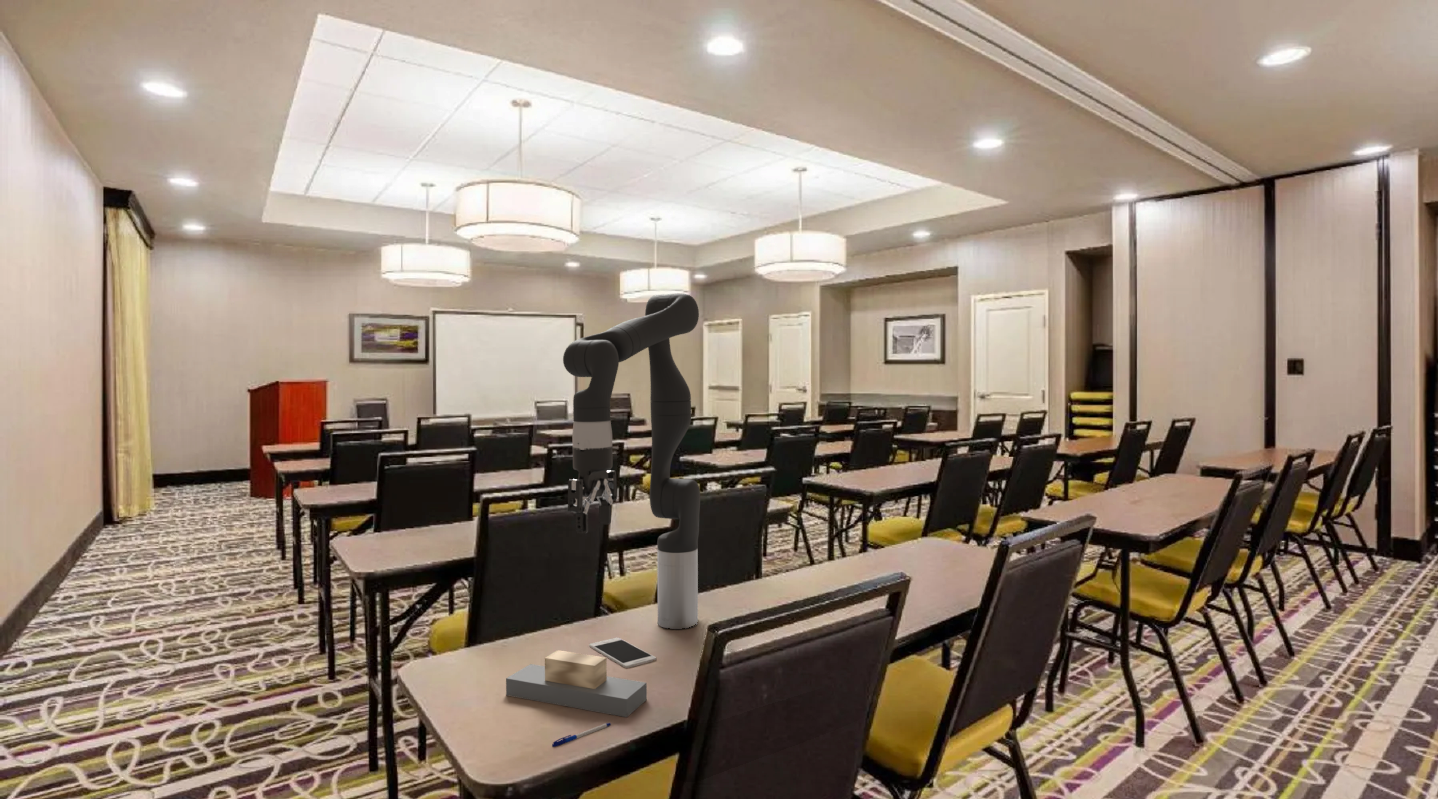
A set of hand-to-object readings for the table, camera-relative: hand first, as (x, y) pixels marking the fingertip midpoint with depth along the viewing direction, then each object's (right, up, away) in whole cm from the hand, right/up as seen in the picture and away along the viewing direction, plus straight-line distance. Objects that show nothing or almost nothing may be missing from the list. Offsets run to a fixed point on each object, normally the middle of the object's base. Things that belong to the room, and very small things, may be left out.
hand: (593, 528), depth 141 cm
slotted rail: (-1, -27, -13) cm, 30 cm away
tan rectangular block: (-1, -27, -13) cm, 30 cm away
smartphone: (+4, -28, +9) cm, 29 cm away
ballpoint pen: (+3, -28, -26) cm, 39 cm away
